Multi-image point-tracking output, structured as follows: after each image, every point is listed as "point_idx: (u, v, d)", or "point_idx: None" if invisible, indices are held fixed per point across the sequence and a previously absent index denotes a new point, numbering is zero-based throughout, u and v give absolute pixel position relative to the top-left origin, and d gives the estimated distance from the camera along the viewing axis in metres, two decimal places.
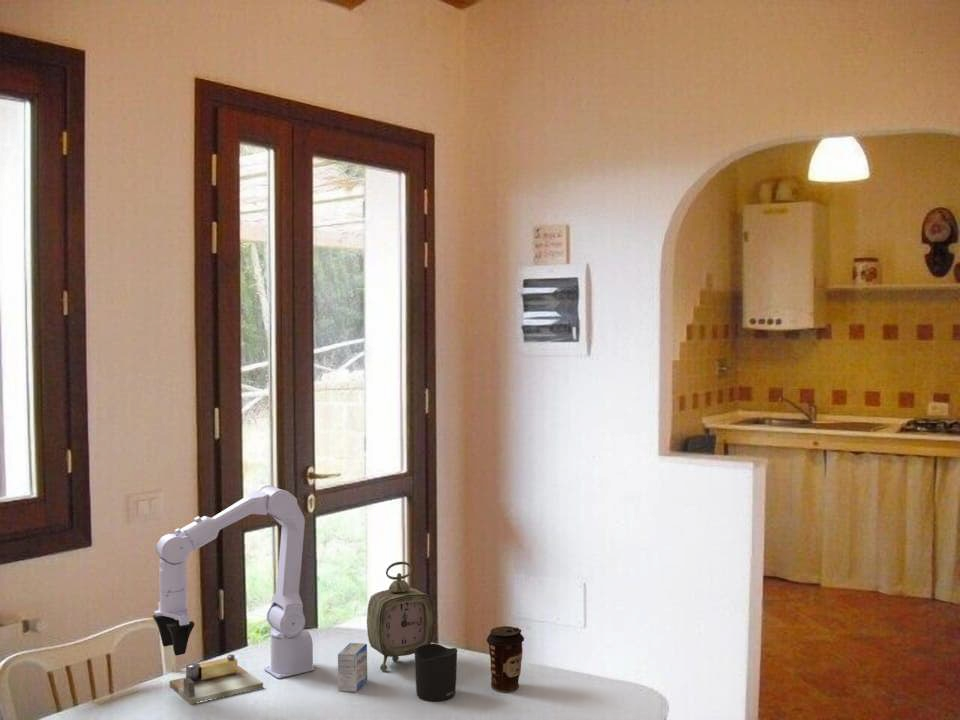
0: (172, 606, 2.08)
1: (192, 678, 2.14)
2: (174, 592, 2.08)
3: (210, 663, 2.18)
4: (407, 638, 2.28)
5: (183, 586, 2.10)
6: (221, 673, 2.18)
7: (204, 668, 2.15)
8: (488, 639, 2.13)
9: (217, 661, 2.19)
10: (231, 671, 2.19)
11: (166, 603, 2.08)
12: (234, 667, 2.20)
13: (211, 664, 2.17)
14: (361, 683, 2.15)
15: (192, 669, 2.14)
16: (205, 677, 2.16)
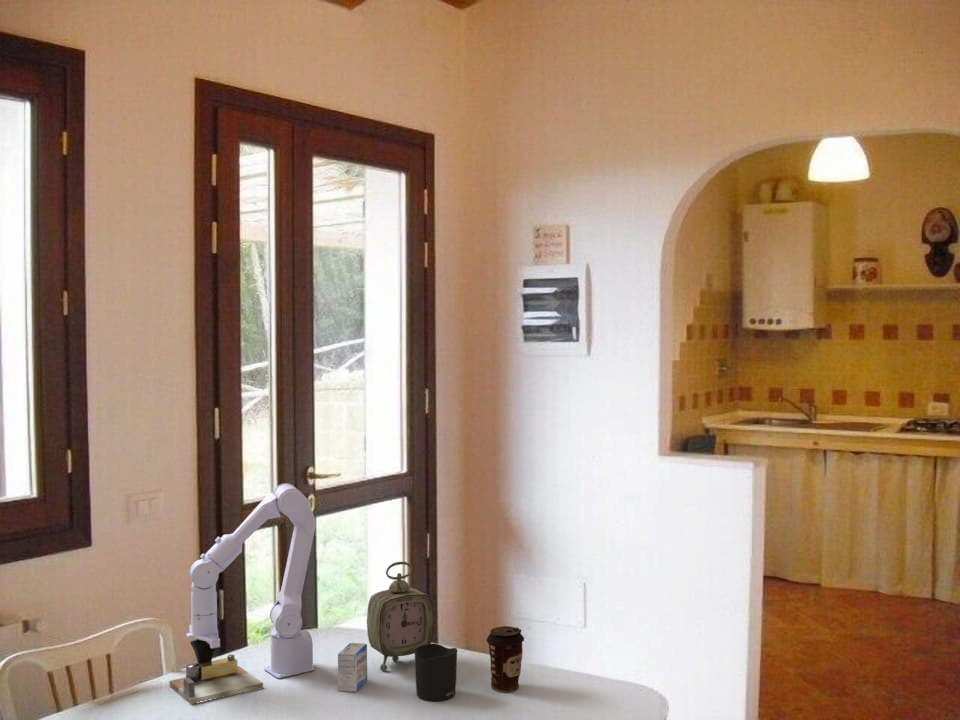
0: (203, 629, 2.16)
1: (192, 678, 2.14)
2: (205, 616, 2.16)
3: (210, 663, 2.18)
4: (407, 638, 2.28)
5: (212, 610, 2.17)
6: (221, 673, 2.18)
7: (204, 668, 2.15)
8: (488, 639, 2.13)
9: (217, 661, 2.19)
10: (231, 671, 2.19)
11: (197, 626, 2.16)
12: (234, 667, 2.20)
13: (211, 664, 2.17)
14: (361, 683, 2.15)
15: (192, 669, 2.14)
16: (205, 677, 2.16)
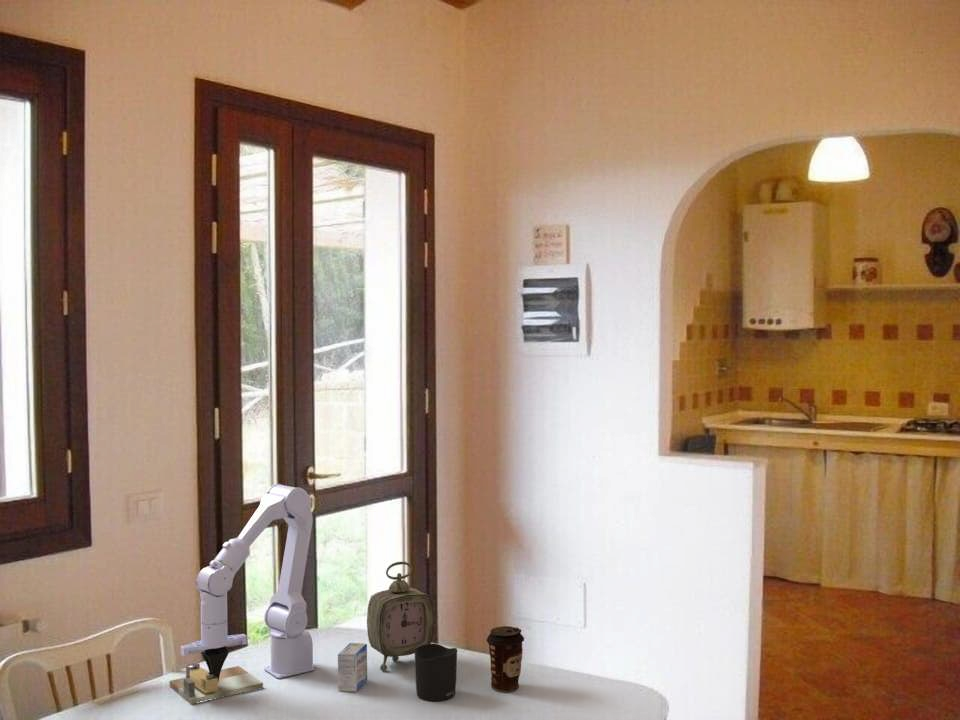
0: (201, 636, 2.11)
1: (186, 676, 2.15)
2: (201, 623, 2.11)
3: (201, 672, 2.12)
4: (407, 638, 2.28)
5: (226, 617, 2.11)
6: (198, 686, 2.10)
7: (190, 673, 2.13)
8: (488, 639, 2.13)
9: (205, 673, 2.11)
10: (202, 690, 2.08)
11: None
12: (204, 687, 2.07)
13: (196, 672, 2.12)
14: (361, 683, 2.15)
15: None
16: None
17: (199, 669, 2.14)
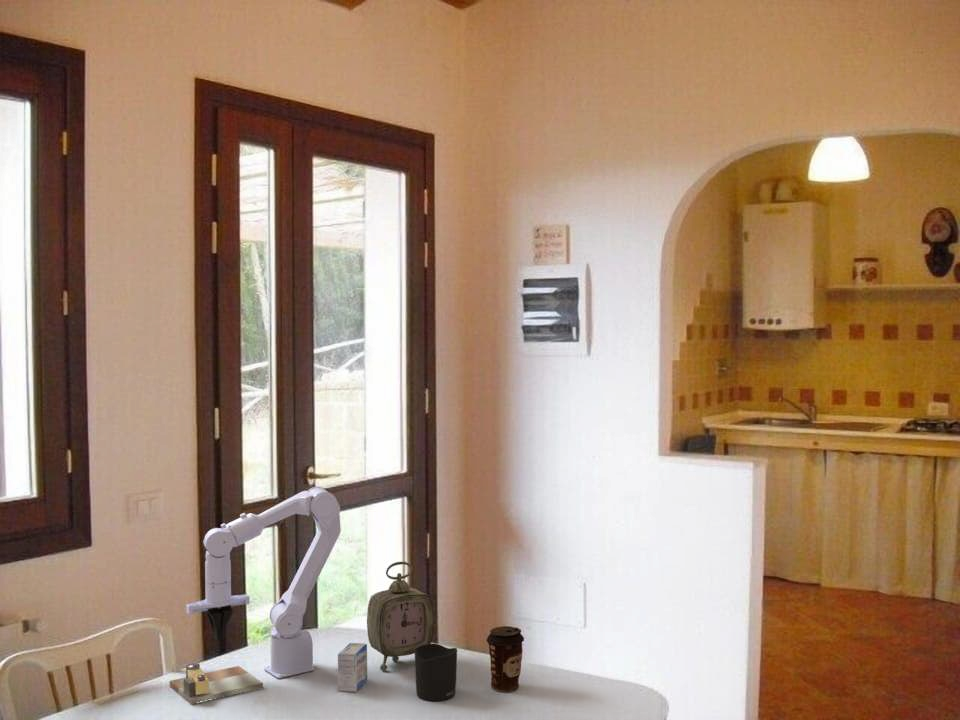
0: None
1: None
2: (205, 582, 2.18)
3: (197, 672, 2.12)
4: (407, 638, 2.28)
5: (226, 579, 2.18)
6: None
7: (188, 673, 2.13)
8: (488, 639, 2.13)
9: (199, 675, 2.10)
10: None
11: None
12: (195, 688, 2.06)
13: (192, 673, 2.11)
14: (361, 683, 2.15)
15: None
16: None
17: (197, 670, 2.13)
